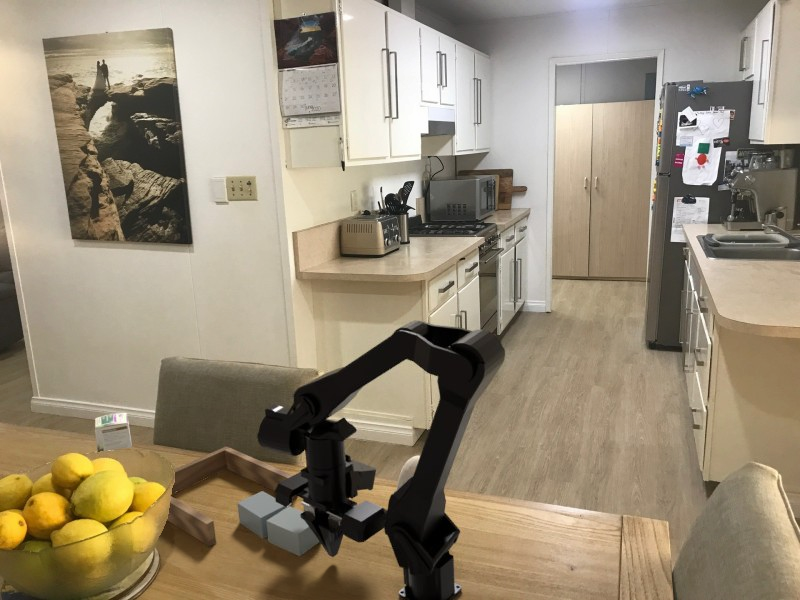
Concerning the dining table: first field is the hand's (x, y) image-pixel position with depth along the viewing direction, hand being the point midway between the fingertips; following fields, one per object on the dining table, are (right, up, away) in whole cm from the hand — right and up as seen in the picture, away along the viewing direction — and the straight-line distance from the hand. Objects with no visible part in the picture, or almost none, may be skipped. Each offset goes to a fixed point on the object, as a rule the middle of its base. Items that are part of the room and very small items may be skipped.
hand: (333, 555), depth 98 cm
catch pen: (-22, +2, +19) cm, 29 cm away
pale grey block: (-13, +1, +11) cm, 17 cm away
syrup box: (-42, +2, +24) cm, 49 cm away
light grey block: (-7, 0, +6) cm, 9 cm away
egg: (+14, +2, +9) cm, 17 cm away
